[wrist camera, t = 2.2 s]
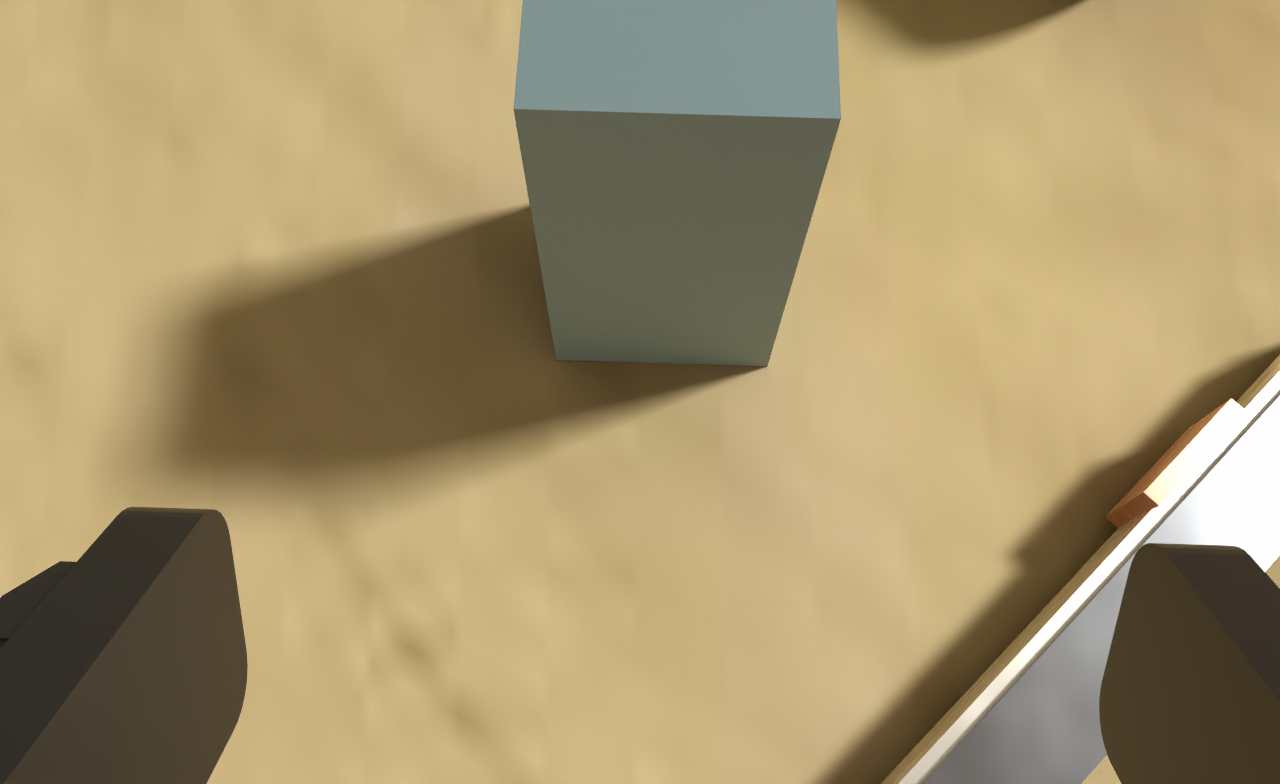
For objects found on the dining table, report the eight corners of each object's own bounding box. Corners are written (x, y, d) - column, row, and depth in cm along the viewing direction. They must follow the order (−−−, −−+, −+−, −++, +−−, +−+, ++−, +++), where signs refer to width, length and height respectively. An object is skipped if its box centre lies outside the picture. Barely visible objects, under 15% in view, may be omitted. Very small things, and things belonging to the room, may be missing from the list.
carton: (556, 359, 26) (513, 108, 17) (566, 194, 28) (532, -118, 19) (770, 367, 26) (845, 118, 17) (768, 200, 28) (836, -109, 19)
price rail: (868, 976, 22) (896, 996, 19) (771, 869, 22) (787, 875, 20) (1386, 388, 26) (1460, 347, 24) (1292, 313, 27) (1355, 265, 24)
